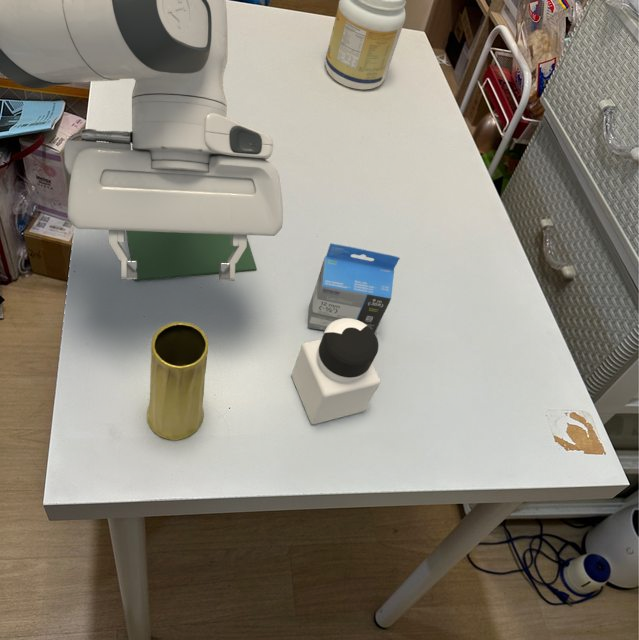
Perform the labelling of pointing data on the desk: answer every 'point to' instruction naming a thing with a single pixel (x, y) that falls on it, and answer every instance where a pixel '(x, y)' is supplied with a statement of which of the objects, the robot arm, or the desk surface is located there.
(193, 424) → the vase
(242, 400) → the desk surface
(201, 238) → the green mat
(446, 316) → the desk surface
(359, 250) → the label tape box
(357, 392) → the medicine bottle
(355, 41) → the supplement tub
